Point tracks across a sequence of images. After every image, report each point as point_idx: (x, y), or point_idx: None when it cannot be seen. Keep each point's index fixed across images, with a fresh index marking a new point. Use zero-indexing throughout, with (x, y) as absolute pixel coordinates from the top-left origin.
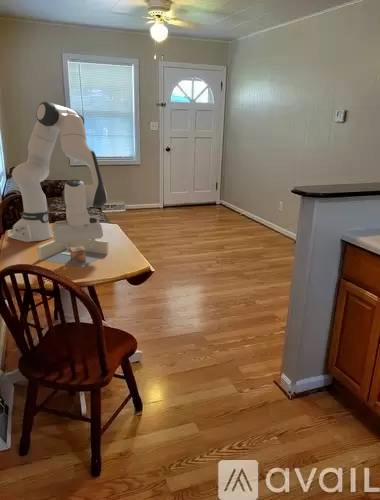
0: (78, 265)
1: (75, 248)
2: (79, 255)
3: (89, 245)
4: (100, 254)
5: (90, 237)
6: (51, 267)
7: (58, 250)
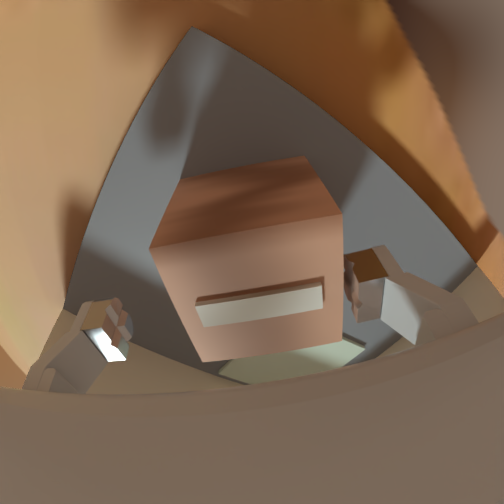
0: (249, 86)
1: (286, 298)
2: (235, 197)
3: (102, 329)
4: None
5: (34, 415)
6: (449, 160)
7: None
